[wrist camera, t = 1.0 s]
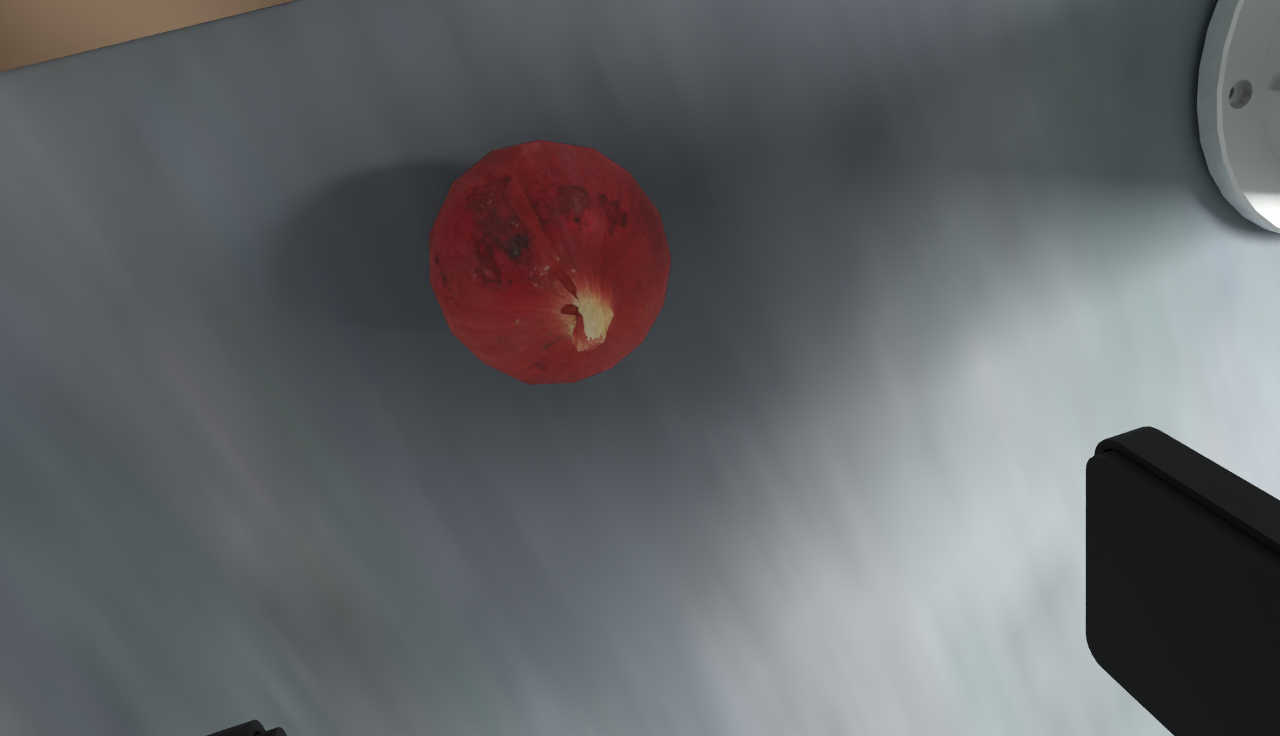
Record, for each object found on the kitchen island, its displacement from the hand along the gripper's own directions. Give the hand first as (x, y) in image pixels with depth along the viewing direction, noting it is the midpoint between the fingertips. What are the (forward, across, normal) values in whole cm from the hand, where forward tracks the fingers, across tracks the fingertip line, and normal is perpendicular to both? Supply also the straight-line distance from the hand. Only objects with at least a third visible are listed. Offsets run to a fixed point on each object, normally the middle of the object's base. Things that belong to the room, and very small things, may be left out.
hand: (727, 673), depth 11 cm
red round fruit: (+19, -1, 0) cm, 19 cm away
